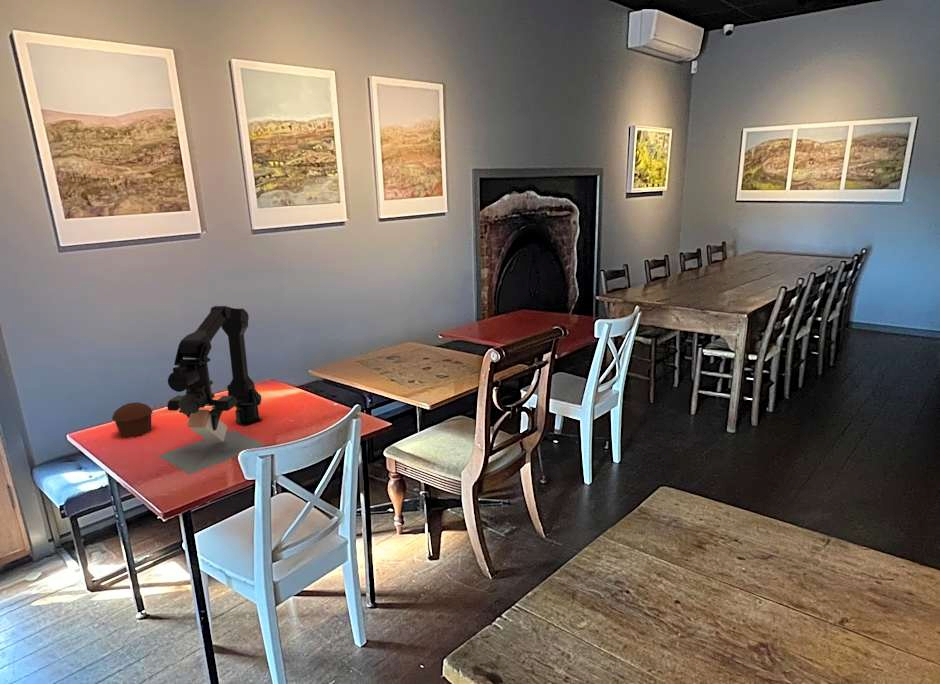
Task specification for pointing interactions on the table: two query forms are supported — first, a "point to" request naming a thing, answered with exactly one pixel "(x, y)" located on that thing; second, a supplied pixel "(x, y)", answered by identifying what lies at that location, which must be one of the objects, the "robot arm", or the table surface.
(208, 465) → the charcoal mat
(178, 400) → the robot arm
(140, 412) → the muffin
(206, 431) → the cream block
